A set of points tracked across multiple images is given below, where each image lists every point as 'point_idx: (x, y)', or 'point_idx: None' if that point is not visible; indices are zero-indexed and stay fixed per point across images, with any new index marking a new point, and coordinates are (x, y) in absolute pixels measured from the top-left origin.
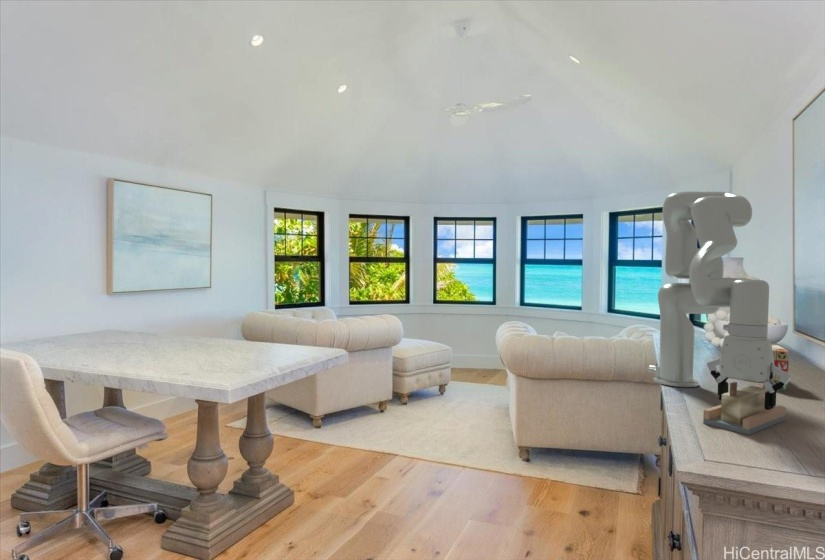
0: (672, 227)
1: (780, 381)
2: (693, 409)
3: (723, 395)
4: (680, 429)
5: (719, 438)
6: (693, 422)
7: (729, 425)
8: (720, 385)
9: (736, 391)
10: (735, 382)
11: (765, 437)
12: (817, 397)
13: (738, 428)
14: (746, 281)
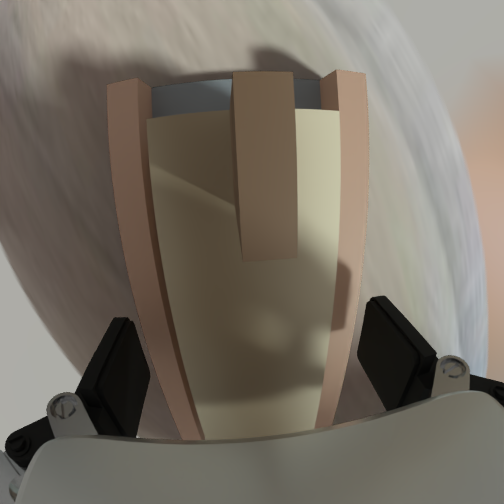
0: None
1: (19, 468)
2: (433, 271)
3: (320, 113)
4: None
5: None
6: (364, 71)
7: (214, 80)
8: (423, 347)
9: (235, 208)
10: (250, 212)
11: (86, 140)
12: None
13: (170, 85)
14: None
